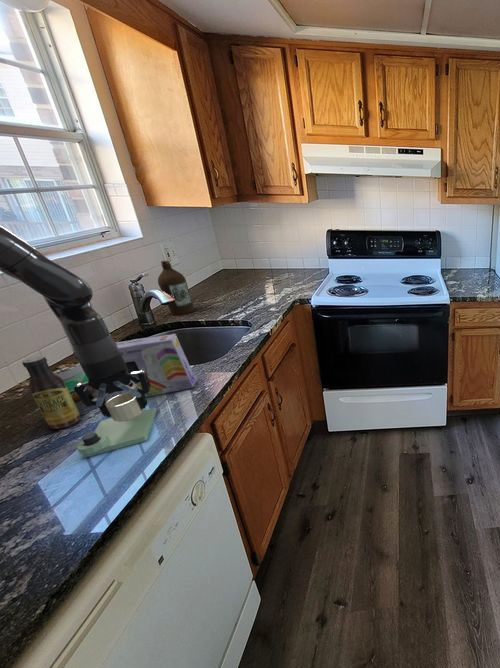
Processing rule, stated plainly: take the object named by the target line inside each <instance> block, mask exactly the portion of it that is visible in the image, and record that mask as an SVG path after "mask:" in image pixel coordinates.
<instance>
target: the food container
mask: <svg viewBox="0 0 500 668" xmlns="http://www.w3.org/2000/svg"><path fill="white" fill-rule="evenodd" d="M52 372H53V373H54V374H56V375H58V376H60V377H61V378H62V380H63V382H64V384H65V386H66V387H67V389H68V391H69V393H70V395H71V397H72V399H73V401H74V403H75V402H77V401H78V402H79V401H80V400H81V398H80V397H79V396H78V394H77V393H76V392H75V390H74V388H75V386H76V385H77V384H78V383H79V382H83V383H84V382H88V378H87V376H86V374H85V373H84V371H83V369H82V367H81V365H80V363H79V361H78V362H76V363H73V364H70V365H67V366H64V367H60V368H57V369H55V370H53V371H52ZM89 387H90V386H89ZM93 390H94V388H92V387H90V388H89V391H90V393H91V394H92V393H93Z"/></svg>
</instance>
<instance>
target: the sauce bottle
mask: <svg viewBox="0 0 500 668" xmlns="http://www.w3.org/2000/svg"><path fill="white" fill-rule="evenodd" d="M21 363H22V367H23V368H25V369H26V371H27V372H28V374H29V375H28V376H29V382H28V386H29V390H30V393H31V395H32V397H33V399H34V401H35V403H36V405H37V407H38V409H39V411H40V412H41V414H42V417H43V418H44V421H46V423H47V425H48V426H49V427H50V429H51V430H61V429H65V428H68V427H71V426H73V425H75V424H77V423H78V422H79V421H80V420H81V415H80V411H79V409H78V407H77V405H76V403H75V402H74V401H73V399H72V397H71V395H70V393H69V391H68V389H67V387H66V386H65V384H64V382H63V380H62V378H61V377H60V376H58V375H56V374H54V373H53V371H52V369H51V368H50V366H49V364H48V359H47V358H46V356H44V355H35V356H31V357H28V358H25V359H23V360H22V362H21Z"/></svg>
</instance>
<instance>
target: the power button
mask: <svg viewBox="0 0 500 668" xmlns="http://www.w3.org/2000/svg"><path fill="white" fill-rule="evenodd" d="M94 432H95V431H93V432H89V433H87V434H85V435H83V436H82V437H81V441H83V442H84V443H85V445H86V446H90V445H93V444H95V443H97V442H98V441H100V439H99V437H98V436H97V434H96V433H94Z"/></svg>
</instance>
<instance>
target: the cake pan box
mask: <svg viewBox="0 0 500 668" xmlns="http://www.w3.org/2000/svg"><path fill="white" fill-rule="evenodd" d="M115 343H116V345H117V347H118V349H119V351H120V353H121V355H122V357H123V359H124V361H125V364H126V366H127V368H128V370H130V371H131V372H137V371H140V370H141V369H145V370H146V372H147V376H148V379H149V382H150V385H151V388H150V390H149V392H148V393H145V396H146V398H147V397H152V396H153V397H154V396H157V395H163V394H168V393H174V392H179V391H185V390H188V389H193V388H194V386H195V385H196V383H197V379H196V376H195V374H194V372H193V370H192V367H191V366H190V363H189V361H188V358H187V356H186V354H185V352H184V350H183V347H182V345H181V343H180V341H179V339H178V336H177V334H176V333H172V334H166V335H159V336H158V335H157V336H151V337H141V338H134V339H131V340H124V341H117V342H115ZM131 381H133V382H134V383H136V385H137V386H138V387H140V388H142V387H141V384H140V380H137V379H136V378H135V377H132V378H131ZM119 393H120V394H124V393H128V392H126V391H124V390H123V391H119Z"/></svg>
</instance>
